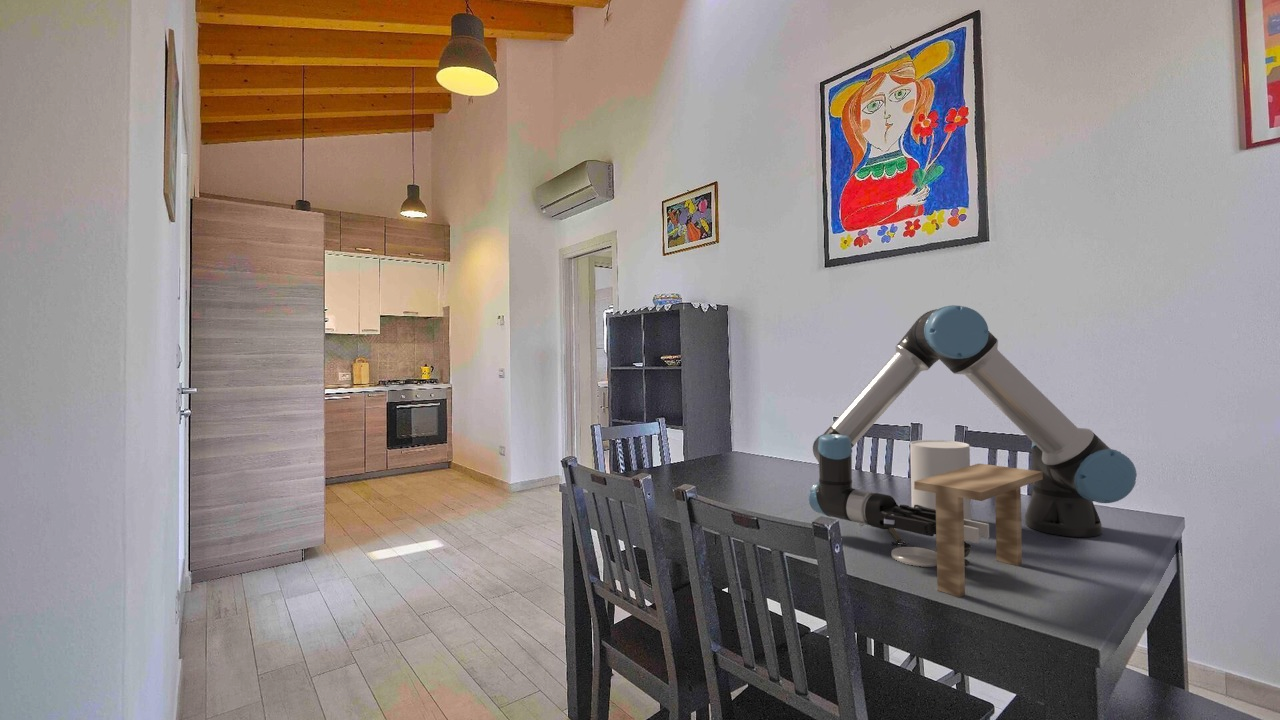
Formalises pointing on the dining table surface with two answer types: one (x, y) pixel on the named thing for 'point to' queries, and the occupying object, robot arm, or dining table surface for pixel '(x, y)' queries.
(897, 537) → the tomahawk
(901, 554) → the coaster
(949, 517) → the wooden stool
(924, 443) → the canister
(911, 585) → the dining table surface
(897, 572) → the dining table surface
